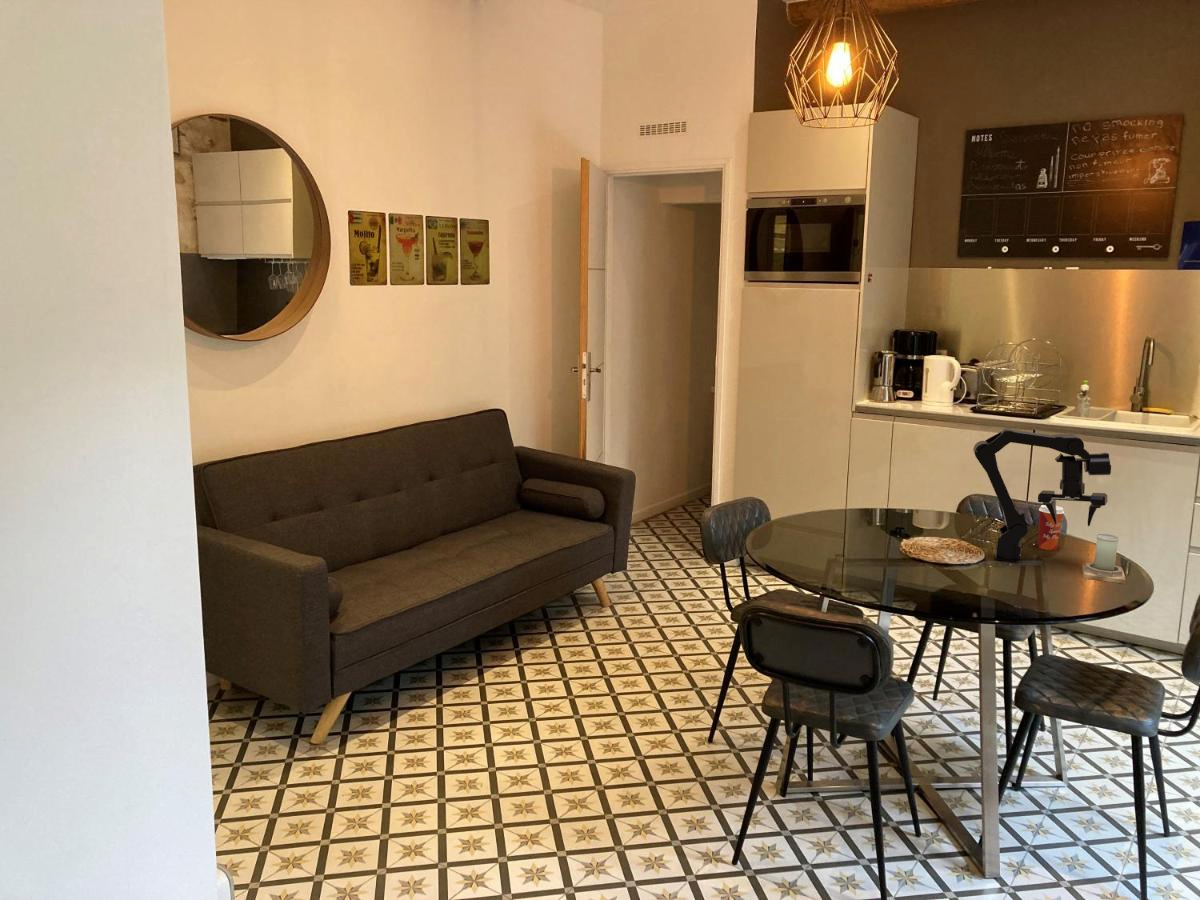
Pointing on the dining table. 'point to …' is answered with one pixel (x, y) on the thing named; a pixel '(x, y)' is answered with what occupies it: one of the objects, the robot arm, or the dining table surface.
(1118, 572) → the seat board
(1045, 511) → the paper cup
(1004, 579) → the dining table surface
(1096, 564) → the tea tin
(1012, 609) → the dining table surface
